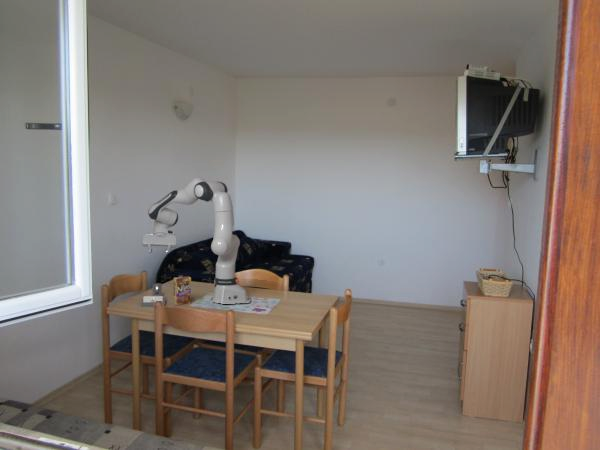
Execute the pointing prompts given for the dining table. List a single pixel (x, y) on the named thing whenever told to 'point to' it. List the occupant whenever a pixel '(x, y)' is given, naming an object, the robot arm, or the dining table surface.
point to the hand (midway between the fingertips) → (158, 252)
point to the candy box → (181, 290)
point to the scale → (152, 300)
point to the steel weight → (157, 289)
